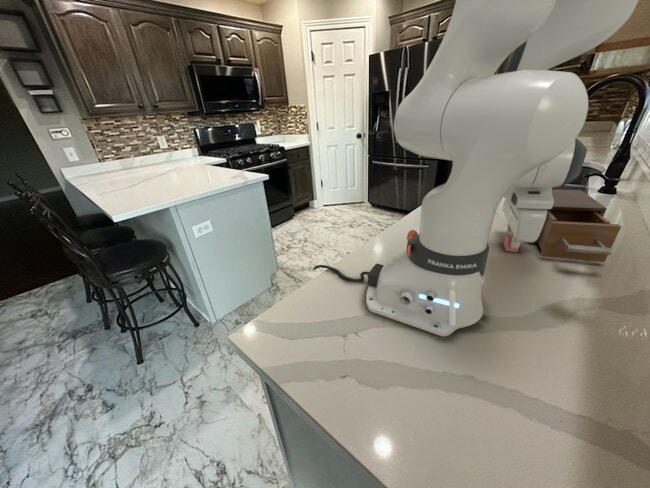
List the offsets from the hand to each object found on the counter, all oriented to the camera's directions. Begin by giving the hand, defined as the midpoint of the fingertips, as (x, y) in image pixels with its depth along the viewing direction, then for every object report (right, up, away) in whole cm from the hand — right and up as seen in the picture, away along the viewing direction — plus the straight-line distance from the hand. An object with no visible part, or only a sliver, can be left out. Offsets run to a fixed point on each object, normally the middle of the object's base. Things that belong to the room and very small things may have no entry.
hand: (512, 241), depth 68 cm
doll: (0, -2, +1) cm, 2 cm away
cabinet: (+15, +2, +6) cm, 16 cm away
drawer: (+10, -2, -4) cm, 11 cm away
